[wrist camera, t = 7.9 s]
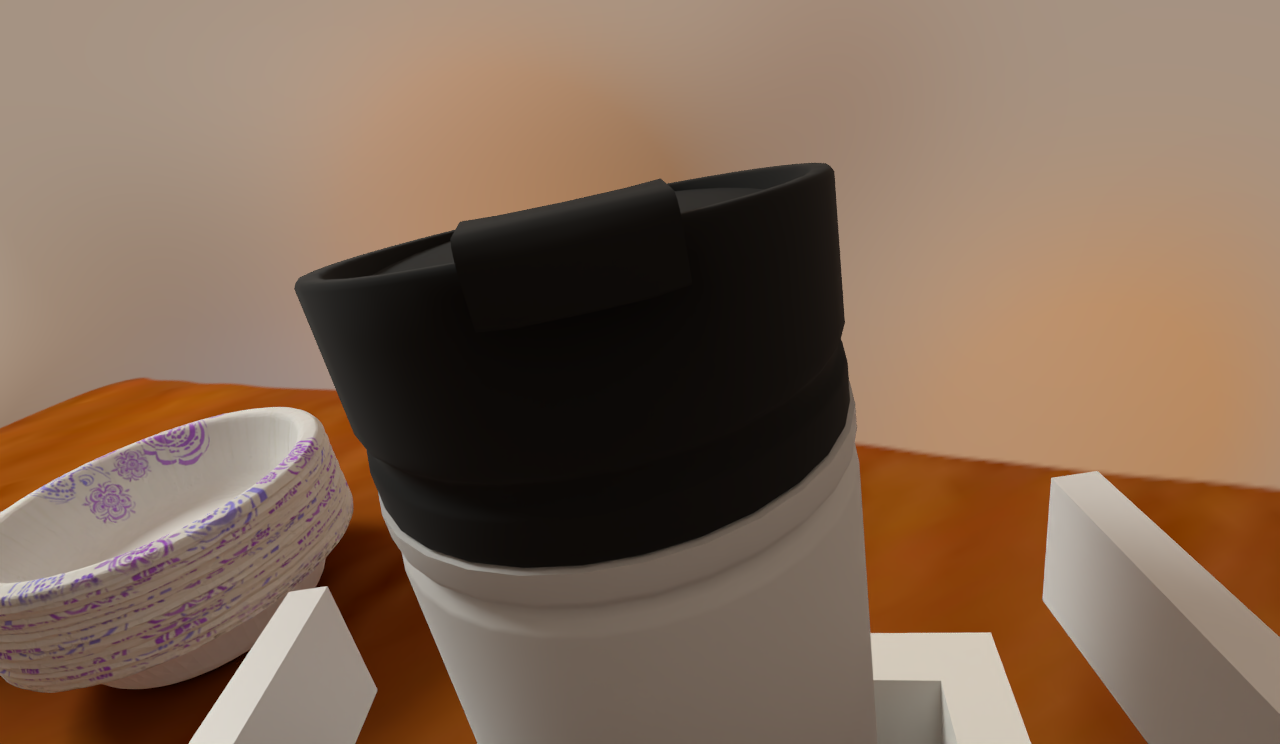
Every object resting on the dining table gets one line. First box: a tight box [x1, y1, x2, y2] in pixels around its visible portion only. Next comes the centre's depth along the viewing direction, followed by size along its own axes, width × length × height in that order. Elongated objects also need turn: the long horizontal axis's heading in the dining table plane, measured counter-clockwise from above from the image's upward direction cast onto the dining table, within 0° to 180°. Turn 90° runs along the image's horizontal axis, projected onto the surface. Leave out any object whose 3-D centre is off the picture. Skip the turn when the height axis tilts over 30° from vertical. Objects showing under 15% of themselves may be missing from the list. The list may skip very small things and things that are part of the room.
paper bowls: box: [0, 407, 353, 693], centre depth 33 cm, size 15×15×8 cm
